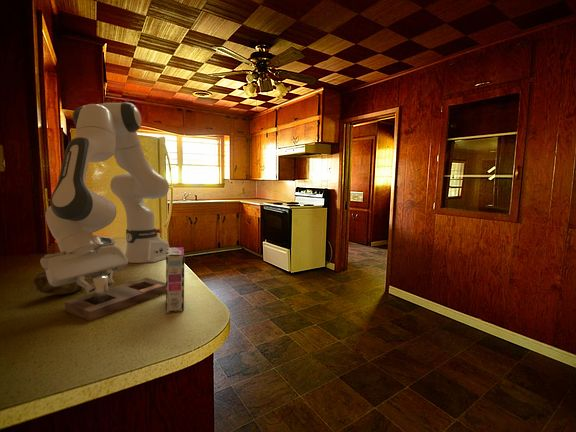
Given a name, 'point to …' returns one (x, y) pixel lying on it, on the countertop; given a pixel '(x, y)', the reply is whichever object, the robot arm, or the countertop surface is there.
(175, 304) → the candy bar box
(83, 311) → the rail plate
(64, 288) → the potato
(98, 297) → the metal peg
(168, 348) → the countertop surface
